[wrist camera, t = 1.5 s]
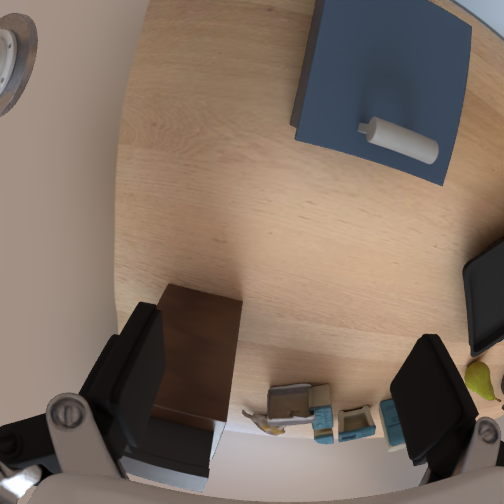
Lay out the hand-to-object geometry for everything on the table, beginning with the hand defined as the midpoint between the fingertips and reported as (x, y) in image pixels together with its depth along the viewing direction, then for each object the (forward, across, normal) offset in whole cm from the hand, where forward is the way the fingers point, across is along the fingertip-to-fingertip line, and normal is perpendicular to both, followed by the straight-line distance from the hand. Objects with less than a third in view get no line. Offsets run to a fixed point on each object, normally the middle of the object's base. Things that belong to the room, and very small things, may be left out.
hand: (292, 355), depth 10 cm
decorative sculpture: (+24, -6, +38) cm, 45 cm away
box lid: (+16, -7, -14) cm, 22 cm away
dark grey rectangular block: (+6, +7, +20) cm, 22 cm away
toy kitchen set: (+24, -21, +35) cm, 47 cm away
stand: (+24, +8, +20) cm, 32 cm away
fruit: (+24, -45, +27) cm, 58 cm away
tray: (+24, -39, +8) cm, 46 cm away
